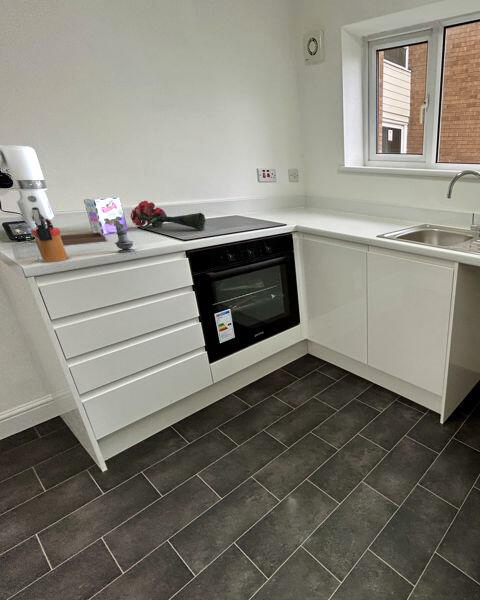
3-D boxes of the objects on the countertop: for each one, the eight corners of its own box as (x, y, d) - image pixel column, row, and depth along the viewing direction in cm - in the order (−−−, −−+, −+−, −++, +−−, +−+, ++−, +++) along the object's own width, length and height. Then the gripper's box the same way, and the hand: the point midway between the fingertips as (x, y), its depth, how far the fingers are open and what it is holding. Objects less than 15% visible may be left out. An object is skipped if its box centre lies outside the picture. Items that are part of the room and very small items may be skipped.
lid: (61, 232, 128) (60, 227, 127) (59, 235, 122) (57, 230, 122) (34, 233, 124) (32, 227, 123) (30, 236, 118) (28, 231, 118)
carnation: (205, 243, 190) (136, 239, 186) (213, 217, 199) (147, 212, 195) (194, 224, 177) (119, 219, 172) (203, 197, 185) (132, 192, 181)
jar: (43, 263, 122) (33, 232, 118) (42, 259, 126) (31, 230, 122) (68, 260, 127) (59, 230, 123) (66, 256, 131) (57, 228, 127)
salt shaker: (131, 248, 144) (123, 219, 140) (138, 250, 142) (131, 221, 137) (114, 251, 140) (106, 221, 135) (121, 253, 137) (113, 222, 133)
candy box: (103, 235, 167) (93, 199, 161) (92, 234, 168) (82, 198, 162) (128, 230, 180) (120, 197, 174) (118, 229, 180) (109, 196, 174)
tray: (60, 245, 145) (58, 241, 145) (56, 240, 154) (55, 236, 153) (106, 241, 156) (105, 236, 155) (100, 236, 164) (99, 232, 163)
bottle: (47, 238, 156) (27, 179, 147) (46, 240, 152) (26, 180, 143) (31, 239, 153) (10, 179, 144) (29, 242, 149) (8, 180, 140)
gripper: (41, 187, 113) (59, 241, 119) (49, 183, 126) (65, 233, 132) (8, 187, 108) (28, 244, 115) (20, 184, 121) (37, 234, 128)
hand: (48, 237), depth 123 cm, fingers closed on lid, 7 cm apart
